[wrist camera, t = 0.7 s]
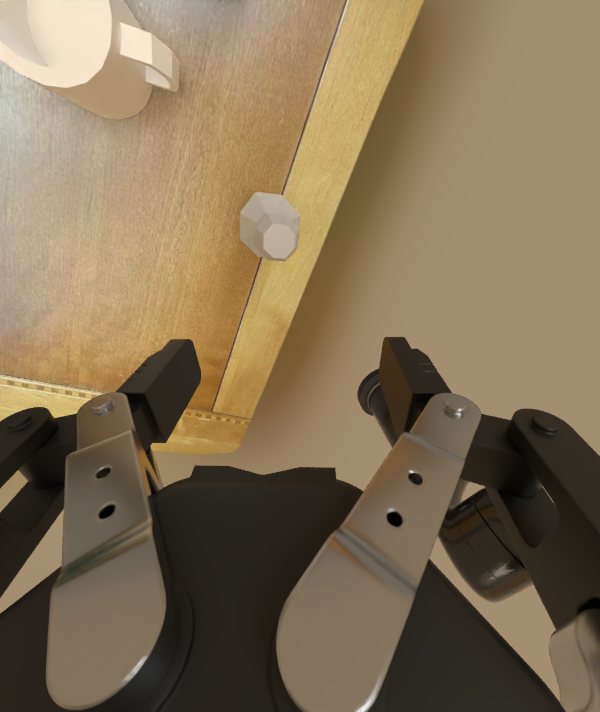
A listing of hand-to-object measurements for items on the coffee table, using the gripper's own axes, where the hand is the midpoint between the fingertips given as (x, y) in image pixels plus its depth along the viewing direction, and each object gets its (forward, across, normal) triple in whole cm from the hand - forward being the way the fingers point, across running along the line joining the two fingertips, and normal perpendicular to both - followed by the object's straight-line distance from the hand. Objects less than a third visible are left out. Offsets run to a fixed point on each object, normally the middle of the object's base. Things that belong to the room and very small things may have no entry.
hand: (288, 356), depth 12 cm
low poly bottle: (+32, -6, +2) cm, 33 cm away
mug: (+30, -20, +17) cm, 40 cm away
